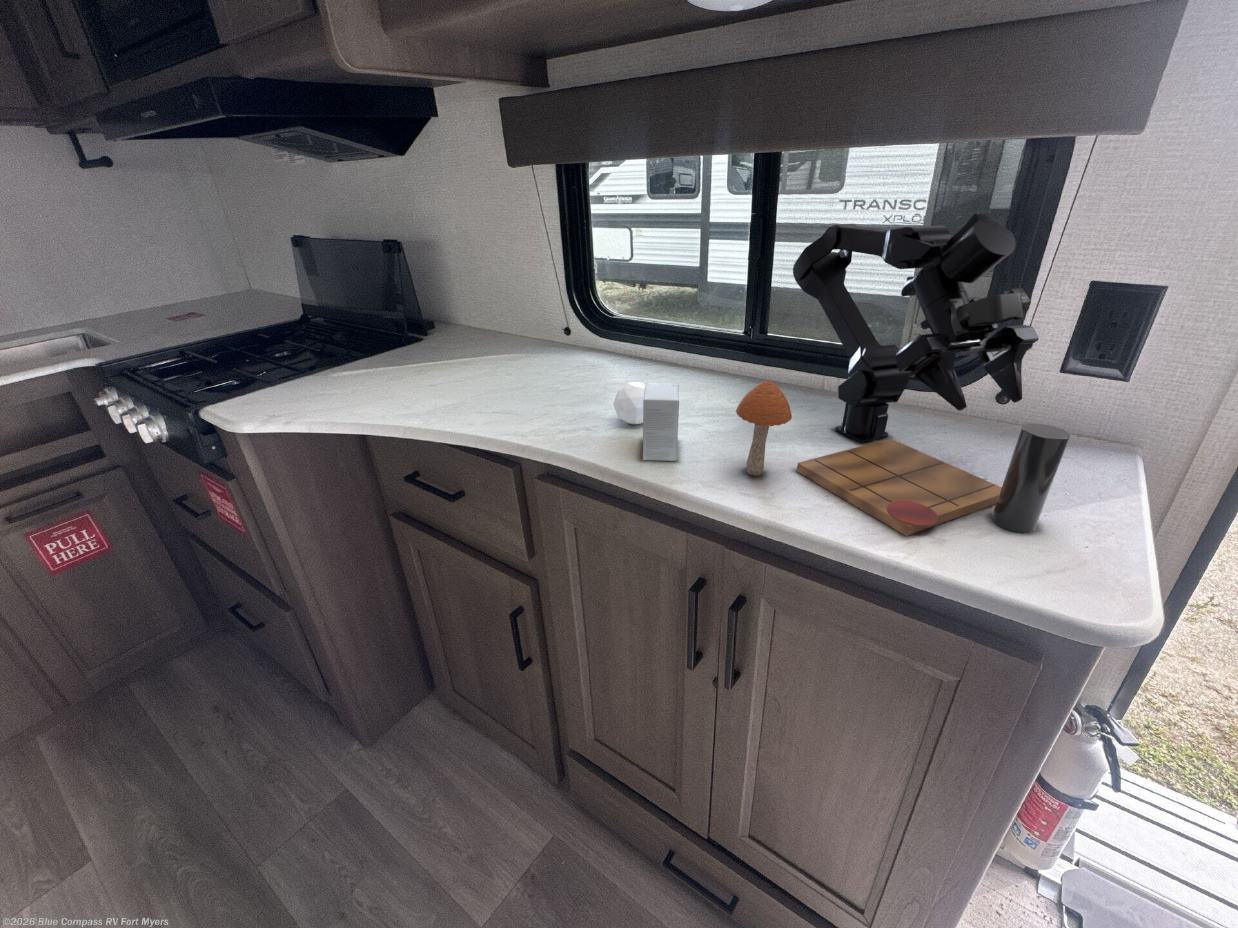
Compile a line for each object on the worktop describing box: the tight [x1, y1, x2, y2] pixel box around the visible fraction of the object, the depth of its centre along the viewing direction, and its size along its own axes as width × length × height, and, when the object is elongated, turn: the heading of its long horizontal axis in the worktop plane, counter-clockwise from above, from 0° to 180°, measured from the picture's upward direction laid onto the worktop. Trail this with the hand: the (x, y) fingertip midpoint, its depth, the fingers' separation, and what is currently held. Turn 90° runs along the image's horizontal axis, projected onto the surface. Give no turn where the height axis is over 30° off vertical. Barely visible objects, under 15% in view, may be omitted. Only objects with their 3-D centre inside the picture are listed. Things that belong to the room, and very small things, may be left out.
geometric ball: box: [613, 382, 646, 425], centre depth 104 cm, size 8×8×8 cm
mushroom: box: [735, 379, 793, 477], centre depth 83 cm, size 8×8×15 cm
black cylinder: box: [991, 422, 1071, 534], centre depth 70 cm, size 5×5×13 cm
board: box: [796, 438, 1002, 537], centre depth 82 cm, size 21×20×2 cm
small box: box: [642, 382, 680, 462], centre depth 92 cm, size 8×6×10 cm
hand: (990, 405), depth 74 cm, fingers open, 9 cm apart
